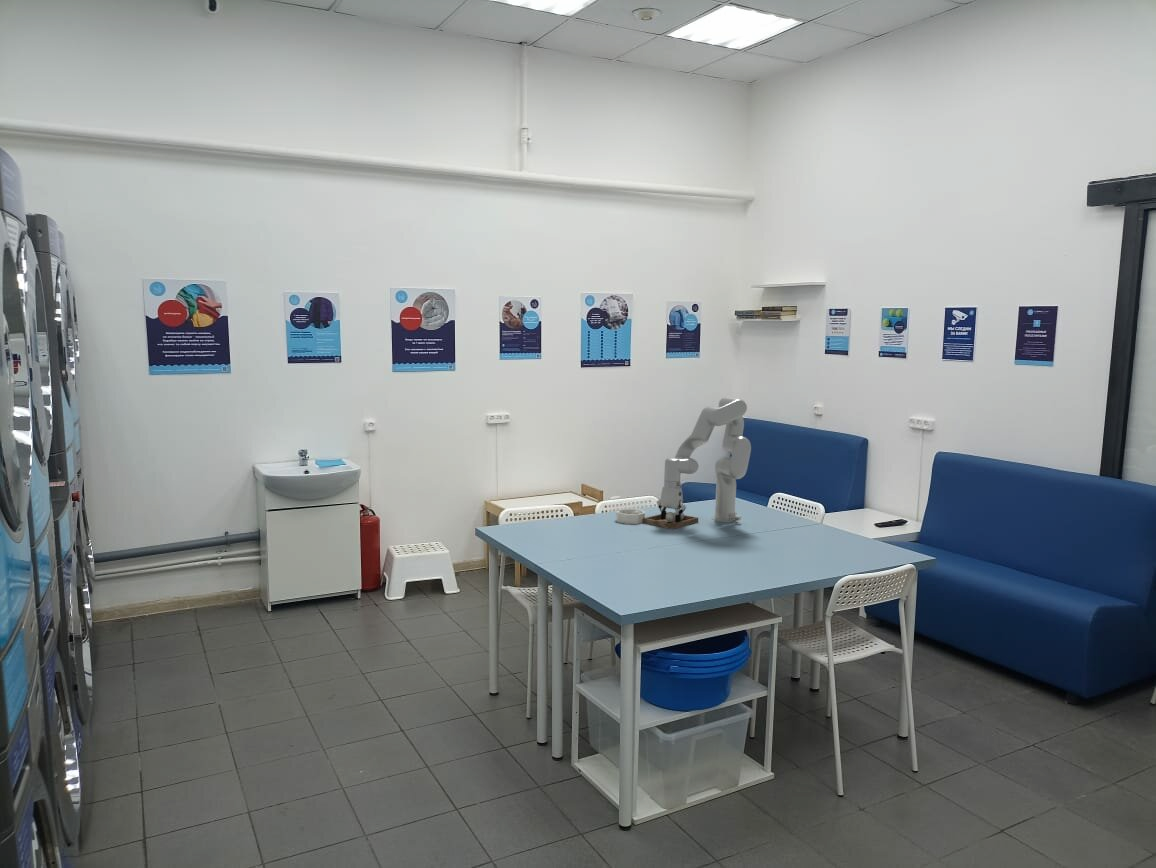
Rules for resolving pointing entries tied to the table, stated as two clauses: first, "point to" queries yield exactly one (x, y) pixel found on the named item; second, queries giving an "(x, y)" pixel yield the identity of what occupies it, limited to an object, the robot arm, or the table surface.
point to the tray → (664, 523)
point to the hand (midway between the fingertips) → (670, 520)
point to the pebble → (670, 517)
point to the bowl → (629, 516)
